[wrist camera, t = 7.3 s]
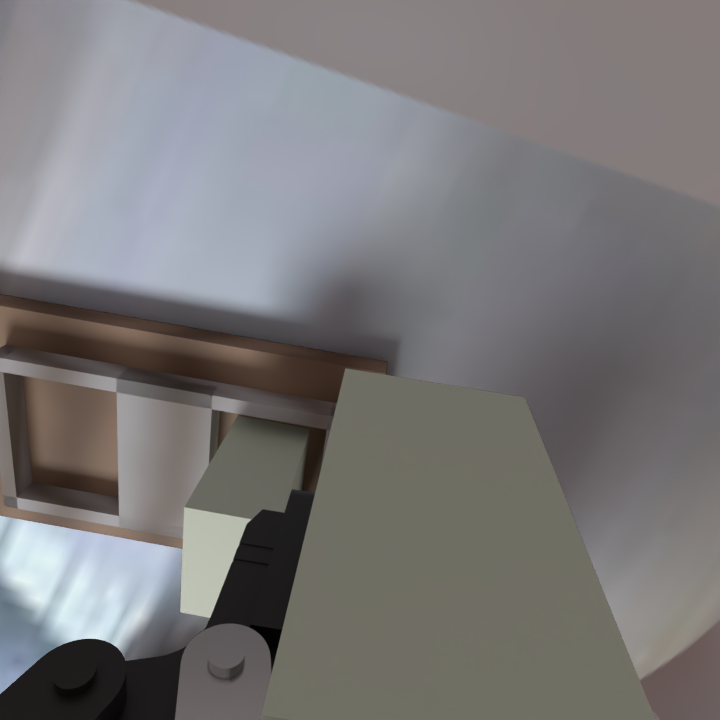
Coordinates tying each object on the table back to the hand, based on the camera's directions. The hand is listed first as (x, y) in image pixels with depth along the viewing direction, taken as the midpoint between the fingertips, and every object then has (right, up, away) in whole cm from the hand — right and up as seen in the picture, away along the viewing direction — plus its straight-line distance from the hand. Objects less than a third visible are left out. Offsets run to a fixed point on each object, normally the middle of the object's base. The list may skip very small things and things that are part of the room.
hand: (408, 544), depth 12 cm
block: (-6, -2, +20) cm, 21 cm away
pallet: (-12, -1, +22) cm, 25 cm away
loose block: (0, +1, +2) cm, 2 cm away
